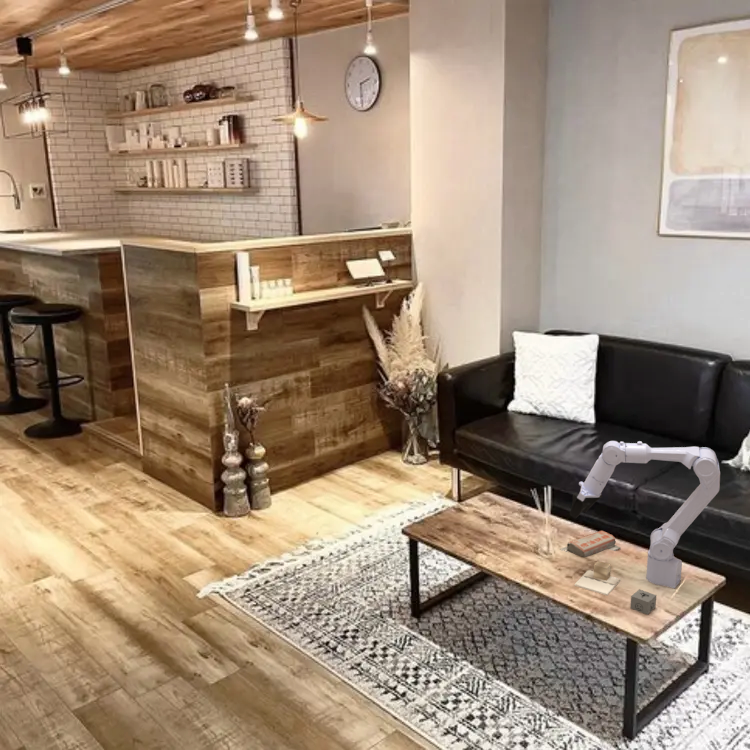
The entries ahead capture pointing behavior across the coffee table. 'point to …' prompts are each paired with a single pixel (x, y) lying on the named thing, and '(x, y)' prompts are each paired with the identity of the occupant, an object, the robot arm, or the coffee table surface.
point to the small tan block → (602, 573)
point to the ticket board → (594, 585)
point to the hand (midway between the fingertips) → (577, 513)
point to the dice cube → (643, 601)
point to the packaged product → (592, 544)
